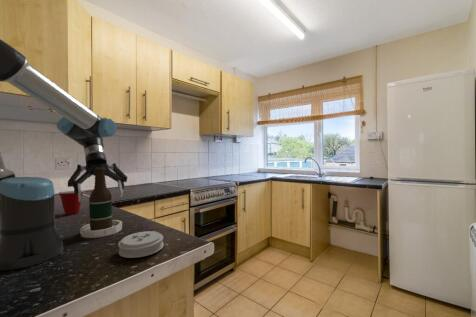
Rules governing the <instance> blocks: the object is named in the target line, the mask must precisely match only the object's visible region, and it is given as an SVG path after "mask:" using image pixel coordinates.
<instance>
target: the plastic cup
mask: <svg viewBox="0 0 476 317" xmlns="http://www.w3.org/2000/svg"><path fill="white" fill-rule="evenodd" d="M84 192H85V190H81V200H82V199H83V195H84ZM58 194H59V197H60V200H61V204H62V205H61V206H62V208H63V212H64V215H65V216H73V215H77V214H78V215H79V213H80V208H81V205H82V204H81V203H82V201H81V202H79V198H78V194H75V193H74V190H68V191H67V190H65V191H58Z"/></svg>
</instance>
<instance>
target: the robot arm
mask: <svg viewBox="0 0 476 317" xmlns="http://www.w3.org/2000/svg"><path fill="white" fill-rule="evenodd" d="M0 82H1V83H2V82H3V83H4V82H5V83H8V84H10V85H11V86H13V87H15V88H17V89H18V90H19V91H21V92H23V93H24V94H26V95H28V96H29V97H31V98H33V99H34V100H35V101H37V102H39V103H40V104H42V105H44V106H45V107H47V108H48V109H50V110H52V111H53V112H55V113H57V114H58V115H59V116H61V118H59V120H58V121H57V123H56V129H57V130H59V131H60V132H61V133H62V134H63V135H65V136H67V137H68V138H70V139H71V140H73V141H75V142H76V143H77V144H79V145H81V146H82V147H83V150H84V151H83V152H84V157H85V158H84V159H85V165H81V164H77V167H76V169H75V170H74V171H73V174H72V175H71V176H70V177H69V179H68V180H67V187H68V188H71V187H72V188H73V191H74V193H75V194H78V198H79V202H81V203H82V199H81V191H82V189H81V184H83V183H84V182H85V181H86V180H88V179H89V178H90V177H91V176H94V177H95V171H94V170H95V168H101V167H103V168H105V177H108V178H110V179H111V180H114V181H116V182H117V187H118V193H119V197H120V198H121V197H123V195H124V190H123V189H125V183H126V182H128V178H129V177H128V176H127V175H126V174H125V173H124V172H123V171H122V170H121V169H120V168H119V167H118V166H117V164H116V163H115V162H114V163H112V164H108V162H107V161H108V160H107V156H106V150H105V147H104V138H109V137H113V136H115V134H116V132H117V125H116V123H115V121H114V120H113V119H112V118H107V117H101V116H99V115H98V114H97V113H95V111H93V110H91V109H90V108H89V107H88V106H86V105H85V104H84V103H83V102H80V101H79V100H78V99H77V98H75V97H74V96H73V95H71V94H70V93H69V92H67V91H66V90H65V89H63V88H62V87H61V86H59V85H58V84H57V83H55V82H54V81H53V80H52V79H49V77H47V76H46V75H45V74H43V73H42V72H41V71H39V70H38V69H36V68H35V67H34V66H33V65H31V64H30V63H28V59H27V57H26V56H25V55H23V53H21V52H20V51H18V50H17V49H15V48H14V47H13V46H11V45H10V44H9V43H7V42H6V41H4V40H2V39H0ZM5 165H6V164H5V162H4V160H3V157H2V154H1V152H0V271H12V270H13V271H14V270H17V269H24V268H29V267H31V266H35V265H39V264H41V263H44V262H48V261H49V260H51V259H54V258H56V257H58V256H59V255H60V254H62V253H63V251H64V242H63V240H61V236H60V235H59V232H58V230H57V227H56V214H55V213H56V211H55V192H56V191H55V188H54V183H53V181H52V180H51V179H49V178H45V177H41V176H40V177H39V176H17V177H16V174H15V172H14V171H13V170H10V169H9V168H6V166H5ZM84 170H85V172H84V173H83V171H84ZM81 173H83V174H82V175H81ZM80 175H81V176H80Z"/></svg>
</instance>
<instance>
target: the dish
mask: <svg viewBox="0 0 476 317" xmlns="http://www.w3.org/2000/svg"><path fill="white" fill-rule="evenodd" d="M112 220H113V222H112V227H111V228H107V229H102V230H95V231H91V230H90V223H88V224H85V225H83V226H81V227H80V229H79V233H80V237H82V238H84V239H97V238H103V237H108V236H112V235H116V234H117V233H119V232H121V231H122V230H123V221H122V220H119V219H112Z"/></svg>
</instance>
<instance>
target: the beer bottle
mask: <svg viewBox="0 0 476 317" xmlns="http://www.w3.org/2000/svg"><path fill="white" fill-rule="evenodd" d="M94 171H95V176H94V188H93V189H92V191H91V193H90V195H89V197H88V198H89V200H88V201H89V202H88V204H89V205H88V207H89V224H90V230H91V231H95V230H102V229H107V228H111V227H112V222H113V220H114V219H113V198H112V193H111V191H110V190H109V189H108V187H107V184H106V176H105V168H103V167H101V168H95V170H94Z"/></svg>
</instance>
